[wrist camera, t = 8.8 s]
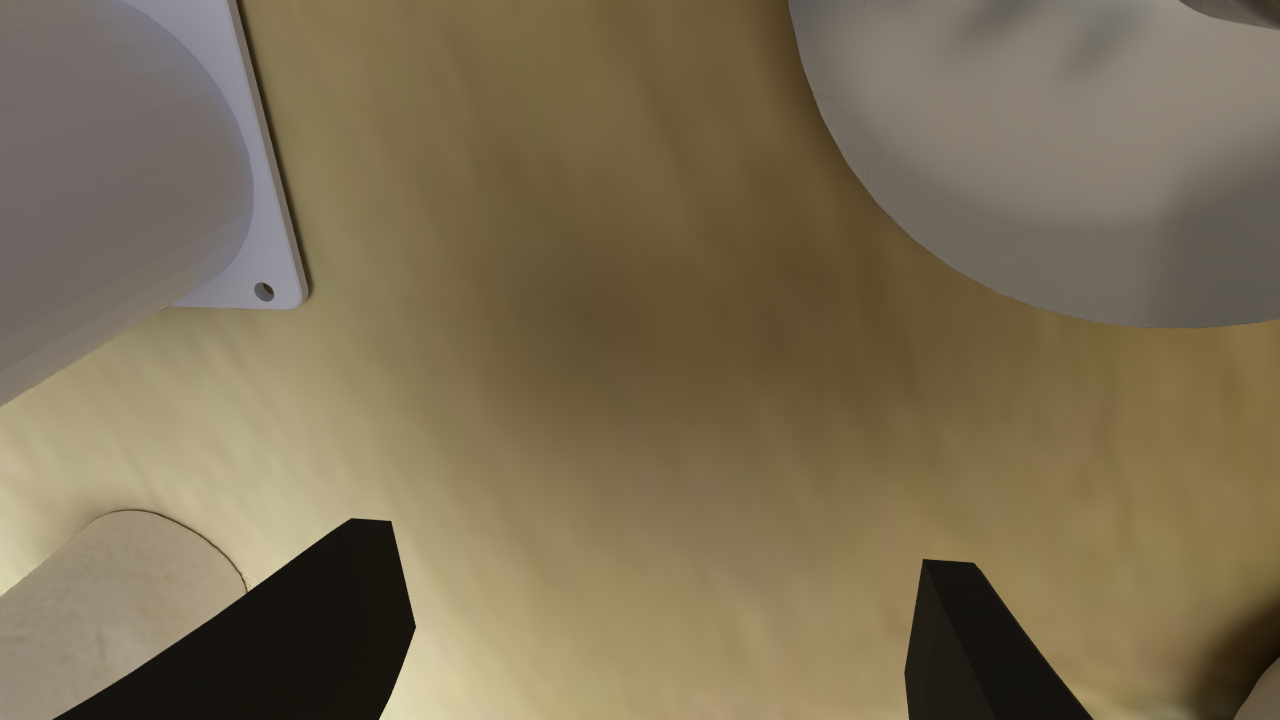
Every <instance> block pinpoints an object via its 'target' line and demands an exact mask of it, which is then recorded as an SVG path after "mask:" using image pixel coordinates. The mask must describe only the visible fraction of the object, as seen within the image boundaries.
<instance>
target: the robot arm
mask: <svg viewBox="0 0 1280 720" xmlns="http://www.w3.org/2000/svg"><path fill="white" fill-rule="evenodd" d="M263 283H266V284H268V285H269V286H270V287H271V288H272V290H273V292H274V295H271V294H269V293H268V292H267V291H266V290H265V288H264V286H263ZM307 297H308V286H307V282H306V278H305V274H304V270H303V266H302V262H301V258H300V254H299V250H298V246H297V242H296V238H295V234H294V230H293V226H292V222H291V218H290V214H289V210H288V206H287V202H286V198H285V194H284V190H283V186H282V182H281V178H280V174H279V170H278V166H277V162H276V159H275V155H274V151H273V147H272V143H271V139H270V135H269V131H268V127H267V123H266V119H265V115H264V111H263V107H262V103H261V99H260V95H259V91H258V87H257V83H256V79H255V75H254V71H253V67H252V63H251V59H250V55H249V51H248V47H247V43H246V39H245V35H244V31H243V27H242V23H241V19H240V15H239V11H238V7H237V3H236V0H0V407H1V406H3V405H4V404H6V403H8V402H9V401H11V400H13V399H14V398H16V397H18V396H19V395H21V394H23V393H24V392H26V391H28V390H29V389H31V388H33V387H34V386H36V385H38V384H39V383H41V382H43V381H44V380H46V379H47V378H49V377H51V376H52V375H54V374H56V373H57V372H59V371H61V370H62V369H64V368H66V367H67V366H69V365H71V364H72V363H74V362H76V361H77V360H79V359H81V358H82V357H84V356H86V355H87V354H89V353H91V352H92V351H94V350H96V349H97V348H99V347H101V346H102V345H104V344H106V343H107V342H109V341H111V340H112V339H114V338H116V337H117V336H119V335H121V334H122V333H124V332H126V331H127V330H129V329H131V328H132V327H134V326H136V325H137V324H139V323H141V322H142V321H144V320H146V319H147V318H149V317H151V316H152V315H154V314H156V313H157V312H159V311H161V310H162V309H164V308H166V307H167V306H168V307H202V308H237V309H271V310H291V309H295V308H297V307H298V306H299V305H300V304H302V303H303V302H304V301H306V299H307ZM415 629H416V625H415V621H414V617H413V612H412V608H411V604H410V600H409V595H408V591H407V587H406V582H405V578H404V574H403V570H402V565H401V561H400V557H399V552H398V548H397V544H396V540H395V535H394V531H393V527H392V522H391V521H383V520H369V519H355V518H351V519H349V520H348V521H346V522H345V523H343V524H342V525H340V526H339V527H337V528H336V529H334V530H333V531H331V532H330V533H329V534H327V535H326V536H324V537H323V538H322V539H320V540H319V541H317V542H316V543H315V544H313V545H312V546H311V547H309V548H308V549H306V550H305V551H304V552H302V553H301V554H300V555H298V556H297V557H296V558H294V559H293V560H291V561H290V562H289V563H287V564H286V565H285V566H283V567H282V568H281V569H279V570H278V571H276V572H275V573H274V574H272V575H271V576H270V577H268V578H267V579H266V580H264V581H263V582H261V583H260V584H259V585H257V586H256V587H254V588H253V589H252V590H250V591H249V592H248V593H246V594H245V595H243V596H242V597H241V598H239V599H238V600H236V601H235V602H234V603H232V604H231V605H230V606H228V607H227V608H225V609H224V610H223V611H221V612H220V613H218V614H217V615H216V616H214V617H213V618H211V619H210V620H208V621H207V622H205V623H204V624H202V625H201V626H199V627H198V628H197V629H195V630H194V631H192V632H191V633H189V634H188V635H186V636H185V637H183V638H182V639H180V640H179V641H177V642H176V643H174V644H173V645H171V646H170V647H168V648H167V649H165V650H164V651H162V652H161V653H159V654H158V655H156V656H155V657H153V658H152V659H150V660H149V661H147V662H146V663H144V664H143V665H141V666H140V667H138V668H137V669H135V670H134V671H132V672H131V673H129V674H128V675H126V676H124V677H123V678H121V679H120V680H118V681H116V682H115V683H113V684H112V685H110V686H108V687H107V688H105V689H103V690H102V691H100V692H98V693H97V694H95V695H94V696H92V697H90V698H89V699H87V700H85V701H83V702H82V703H80V704H78V705H77V706H75V707H73V708H71V709H70V710H68V711H66V712H64V713H63V714H61V715H59V716H58V717H56V718H54V719H52V720H379V718H380V716H381V714H382V712H383V710H384V708H385V706H386V704H387V702H388V700H389V698H390V696H391V694H392V691H393V689H394V686H395V684H396V681H397V678H398V676H399V673H400V671H401V668H402V666H403V663H404V660H405V657H406V654H407V651H408V649H409V646H410V643H411V640H412V637H413V634H414V632H415ZM904 673H905V683H906V693H907V703H908V713H909V720H1093V718H1092V717H1091V716H1090V715H1089V713H1088V712H1087V711H1086V710H1085V708H1084V707H1083V706H1082V705H1081V703H1080V702H1079V701H1078V700H1077V698H1076V697H1075V696H1074V695H1073V693H1072V692H1071V691H1070V690H1069V688H1068V687H1067V686H1066V685H1065V683H1064V682H1063V681H1062V680H1061V679H1060V677H1059V676H1058V675H1057V674H1056V672H1055V671H1054V670H1053V668H1052V667H1051V666H1050V665H1049V663H1048V662H1047V661H1046V659H1045V658H1044V657H1043V655H1042V654H1041V653H1040V652H1039V650H1038V649H1037V648H1036V646H1035V645H1034V643H1033V642H1032V641H1031V639H1030V638H1029V637H1028V635H1027V634H1026V633H1025V631H1024V630H1023V629H1022V627H1021V626H1020V625H1019V623H1018V622H1017V621H1016V619H1015V618H1014V616H1013V615H1012V614H1011V612H1010V611H1009V610H1008V608H1007V607H1006V605H1005V604H1004V603H1003V601H1002V600H1001V598H1000V597H999V596H998V594H997V593H996V591H995V590H994V588H993V587H992V586H991V584H990V583H989V581H988V580H987V578H986V577H985V576H984V574H983V573H982V571H981V570H980V569H979V568H978V567H977V566H976V565H975V564H974V563H970V562H956V561H942V560H928V559H923V563H922V569H921V575H920V581H919V587H918V593H917V599H916V605H915V611H914V618H913V624H912V630H911V636H910V642H909V648H908V654H907V660H906V666H905V672H904Z"/></svg>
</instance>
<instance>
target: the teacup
mask: <svg viewBox="0 0 1280 720" xmlns="http://www.w3.org/2000/svg"><path fill="white" fill-rule="evenodd" d="M1234 720H1280V657H1279V658H1278V659H1277V660H1276V661H1275V662H1274V663H1273V664H1272V665H1271V666H1270V667H1269V668H1268V669H1267V670H1266V671H1265V672H1264V673H1263V675H1262V676H1261V677H1260V679H1259V680H1258V681H1257V683H1256V685H1255V686H1254V688H1253V690H1252V691H1251V693H1250V695H1249V697H1248V698H1247V700H1246V701H1245V702H1244V703H1243V705H1242V706H1241V707H1240V709H1239V711H1238V712H1237V714H1236V716H1235V718H1234Z"/></svg>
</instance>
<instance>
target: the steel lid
mask: <svg viewBox="0 0 1280 720" xmlns="http://www.w3.org/2000/svg"><path fill="white" fill-rule="evenodd" d="M788 5H789V10H790V15H791V19H792V23H793V27H794V32H795V36H796V40H797V45H798V49H799V53H800V57H801V62H802V66H803V68H804V71H805V74H806V76H807V79H808V82H809V84H810V87H811V90H812V92H813V95H814V98H815V100H816V103H817V105H818V108H819V111H820V113H821V116H822V118H823V120H824V122H825V124H826V126H827V127H828V129H829V131H830V133H831V135H832V137H833V138H834V140H835V142H836V144H837V146H838V147H839V149H840V151H841V153H842V155H843V157H844V158H845V160H846V162H847V164H848V165H849V166H850V168H851V169H852V170H853V172H854V173H855V174H856V176H857V177H858V178H859V180H860V181H861V182H862V184H863V185H864V186H865V188H866V189H867V190H868V192H869V193H870V195H871V196H872V197H873V199H874V200H875V201H876V203H877V204H878V205H879V206H880V207H881V208H882V209H883V210H884V211H885V212H886V213H887V214H888V215H889V216H890V217H891V218H892V219H893V220H894V221H895V222H896V223H897V224H898V225H899V226H900V227H901V228H902V229H903V230H904V231H905V232H906V233H907V234H908V235H909V236H910V237H911V238H912V239H914V240H915V241H916V242H918V243H919V244H920V245H922V246H923V247H924V248H926V249H927V250H928V251H930V252H931V253H932V254H934V255H935V256H936V257H938V258H939V259H940V260H942V261H943V262H944V263H946V264H947V265H949V266H950V267H951V268H953V269H955V270H957V271H958V272H960V273H962V274H964V275H966V276H967V277H969V278H971V279H973V280H975V281H977V282H978V283H980V284H982V285H984V286H986V287H988V288H989V289H991V290H993V291H995V292H998V293H1000V294H1003V295H1005V296H1008V297H1011V298H1013V299H1016V300H1019V301H1021V302H1024V303H1026V304H1029V305H1032V306H1034V307H1037V308H1039V309H1042V310H1047V311H1051V312H1055V313H1059V314H1063V315H1067V316H1071V317H1075V318H1079V319H1084V320H1088V321H1092V322H1100V323H1109V324H1117V325H1126V326H1134V327H1142V328H1208V327H1218V326H1228V325H1238V324H1249V323H1259V322H1264V321H1269V320H1275V319H1280V0H788Z"/></svg>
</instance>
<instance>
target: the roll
mask: <svg viewBox="0 0 1280 720" xmlns="http://www.w3.org/2000/svg"><path fill="white" fill-rule="evenodd" d="M245 594H246V590H245V586H244V583H243V581H242V579H241V576H240V575H239V573H238V572H237V571H236V570H235V568H234V566H233V565H232V564H231V563H230V562H229V560H228V559H227V558H226V557H225V556H224V555H223V554H222V553H221V552H220V551H219V550H218V549H217V548H215V547H213V546H212V545H211V544H210V543H209V542H207V541H206V540H205V539H203V538H202V537H200V536H199V535H198V534H196V533H194V532H193V531H191V530H189V529H187V528H185V527H183V526H181V525H179V524H177V523H175V522H173V521H171V520H169V519H167V518H164V517H161V516H159V515H157V514H153V513H149V512H143V511H121V512H113V513H109V514H106V515H104V516H102V517H99V518H97V519H96V520H94V521H93V522H91V523H90V524H89V525H88V526H87V527H86V528H85V529H84V530H82V531H81V532H80V533H79V534H78V535H77V536H75V537H74V538H73V539H72V540H70V541H69V542H68V543H66V544H65V545H64V546H63V547H62V548H60V549H59V550H58V551H56V552H55V553H54V554H53V555H52V556H50V557H49V558H48V559H47V560H45V561H44V562H43V563H42V564H41V565H39V566H38V567H37V568H36V569H34V570H33V571H32V572H31V573H29V574H28V575H27V576H26V577H24V578H23V579H22V580H21V581H19V582H18V583H17V584H16V585H15V586H13V587H12V588H11V589H9V590H8V591H7V592H6V593H5V594H3V595H2V596H1V597H0V720H52V719H54V718H56V717H58V716H59V715H61V714H63V713H64V712H66V711H68V710H70V709H71V708H73V707H75V706H77V705H78V704H80V703H82V702H83V701H85V700H87V699H89V698H90V697H92V696H94V695H95V694H97V693H98V692H100V691H102V690H103V689H105V688H107V687H108V686H110V685H112V684H113V683H115V682H116V681H118V680H120V679H121V678H123V677H124V676H126V675H128V674H129V673H131V672H132V671H134V670H135V669H137V668H138V667H140V666H141V665H143V664H144V663H146V662H147V661H149V660H150V659H152V658H153V657H155V656H156V655H158V654H159V653H161V652H162V651H164V650H165V649H167V648H168V647H170V646H171V645H173V644H174V643H176V642H177V641H179V640H180V639H182V638H183V637H185V636H186V635H188V634H189V633H191V632H192V631H194V630H195V629H197V628H198V627H199V626H201V625H202V624H204V623H205V622H207V621H208V620H210V619H211V618H213V617H214V616H216V615H217V614H218V613H220V612H221V611H223V610H224V609H225V608H227V607H228V606H230V605H231V604H232V603H234V602H235V601H236V600H238V599H239V598H241V597H242V596H243V595H245Z"/></svg>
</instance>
